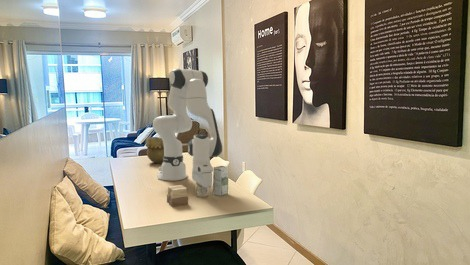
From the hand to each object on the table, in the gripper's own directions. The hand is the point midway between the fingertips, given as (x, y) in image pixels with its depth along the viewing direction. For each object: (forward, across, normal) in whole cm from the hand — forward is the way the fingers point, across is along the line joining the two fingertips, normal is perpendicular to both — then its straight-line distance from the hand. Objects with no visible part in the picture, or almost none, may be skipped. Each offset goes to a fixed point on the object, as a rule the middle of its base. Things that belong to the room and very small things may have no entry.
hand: (201, 192), depth 183 cm
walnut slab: (+2, +8, -15) cm, 17 cm away
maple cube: (+2, 0, 0) cm, 2 cm away
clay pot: (+2, -94, +1) cm, 94 cm away
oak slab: (-2, +8, -15) cm, 17 cm away
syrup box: (+2, +2, +10) cm, 10 cm away
